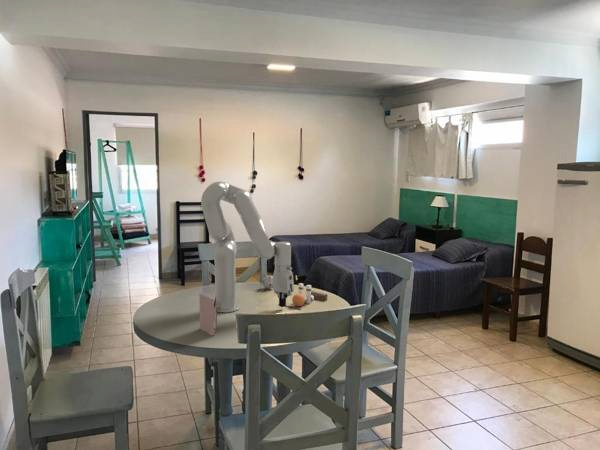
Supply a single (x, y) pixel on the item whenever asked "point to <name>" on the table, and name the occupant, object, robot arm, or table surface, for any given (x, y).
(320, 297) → the backstop wall
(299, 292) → the pin
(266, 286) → the game die
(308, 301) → the pin
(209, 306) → the greeting card
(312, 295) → the front pin
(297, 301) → the ball
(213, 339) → the table surface
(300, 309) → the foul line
